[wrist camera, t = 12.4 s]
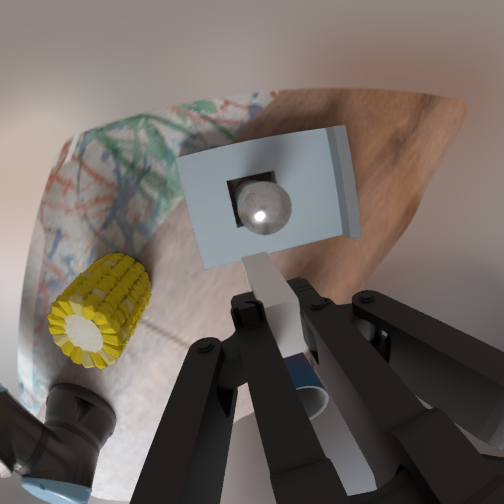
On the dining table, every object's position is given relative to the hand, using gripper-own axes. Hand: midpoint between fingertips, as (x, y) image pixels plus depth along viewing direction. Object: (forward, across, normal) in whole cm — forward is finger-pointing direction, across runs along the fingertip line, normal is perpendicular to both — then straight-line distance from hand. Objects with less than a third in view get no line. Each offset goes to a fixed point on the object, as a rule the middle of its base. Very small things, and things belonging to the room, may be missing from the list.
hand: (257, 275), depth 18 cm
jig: (+21, +6, +2) cm, 22 cm away
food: (+22, -18, -5) cm, 28 cm away
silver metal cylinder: (+21, +3, +2) cm, 21 cm away
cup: (+21, +2, -20) cm, 29 cm away
